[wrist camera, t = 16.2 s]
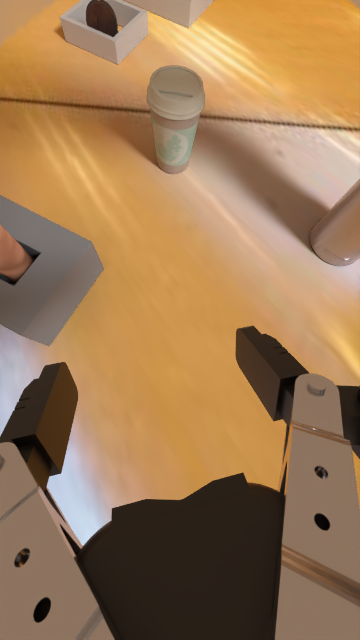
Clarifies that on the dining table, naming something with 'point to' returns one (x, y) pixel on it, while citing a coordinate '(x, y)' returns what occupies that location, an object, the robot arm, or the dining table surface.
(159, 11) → the cactus tray
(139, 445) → the dining table surface
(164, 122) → the coffee cup
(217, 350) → the dining table surface
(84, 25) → the tray
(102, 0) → the dark brown rounded piece
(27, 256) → the pin
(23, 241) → the hole block
